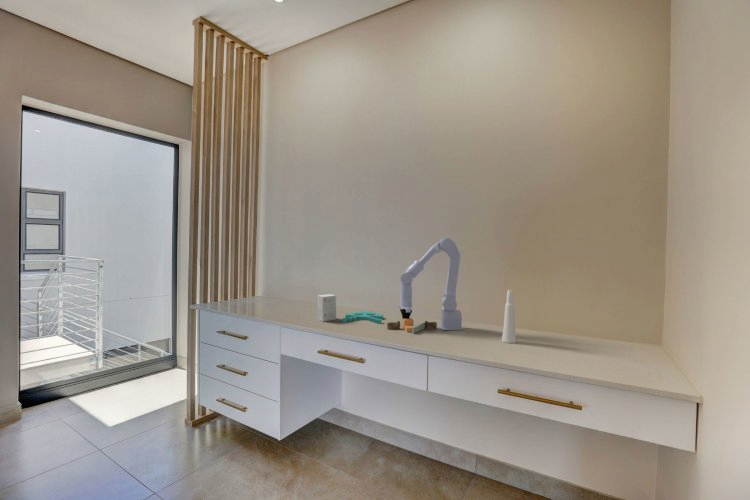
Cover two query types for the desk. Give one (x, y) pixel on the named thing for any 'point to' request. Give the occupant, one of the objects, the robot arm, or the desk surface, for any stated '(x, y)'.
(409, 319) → the doorstop wedge
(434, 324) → the frame
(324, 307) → the small box
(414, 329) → the grey rod
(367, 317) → the alien figure
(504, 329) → the cosmetic bottle
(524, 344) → the desk surface
